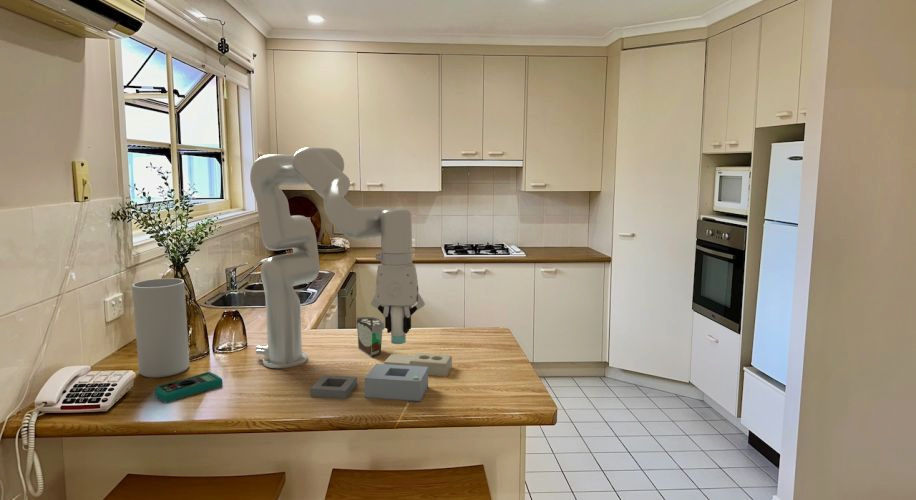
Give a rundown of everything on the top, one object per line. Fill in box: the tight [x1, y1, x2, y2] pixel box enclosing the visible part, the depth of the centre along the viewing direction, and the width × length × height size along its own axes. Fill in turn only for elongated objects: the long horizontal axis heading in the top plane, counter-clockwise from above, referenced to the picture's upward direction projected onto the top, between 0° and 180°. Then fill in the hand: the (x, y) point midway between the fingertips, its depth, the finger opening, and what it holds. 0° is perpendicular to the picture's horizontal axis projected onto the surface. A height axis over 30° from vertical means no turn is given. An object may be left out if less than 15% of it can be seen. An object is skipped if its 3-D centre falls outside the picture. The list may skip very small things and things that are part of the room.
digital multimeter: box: [154, 371, 224, 403], centre depth 141 cm, size 7×15×3 cm, turn 138°
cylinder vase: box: [131, 277, 190, 379], centre depth 153 cm, size 12×12×25 cm
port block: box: [364, 363, 429, 404], centre depth 140 cm, size 14×10×6 cm
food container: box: [355, 316, 386, 358], centre depth 171 cm, size 12×6×10 cm, turn 34°
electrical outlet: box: [383, 352, 453, 377], centre depth 157 cm, size 7×4×18 cm
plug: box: [390, 306, 407, 345], centre depth 138 cm, size 4×4×10 cm
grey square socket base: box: [309, 374, 358, 400], centre depth 141 cm, size 9×9×2 cm
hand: (398, 330), depth 138 cm, fingers closed on plug, 3 cm apart
